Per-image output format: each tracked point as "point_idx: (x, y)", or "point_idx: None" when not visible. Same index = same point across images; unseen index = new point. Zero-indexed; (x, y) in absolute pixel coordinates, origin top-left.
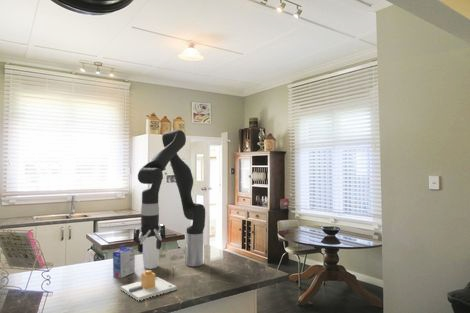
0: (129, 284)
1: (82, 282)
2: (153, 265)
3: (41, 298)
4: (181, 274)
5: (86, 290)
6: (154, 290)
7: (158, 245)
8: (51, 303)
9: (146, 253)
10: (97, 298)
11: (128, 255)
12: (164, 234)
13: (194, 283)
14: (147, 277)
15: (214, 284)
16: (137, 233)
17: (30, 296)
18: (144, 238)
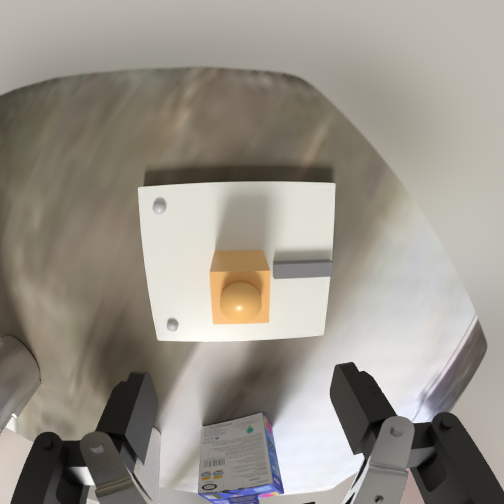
0: (288, 336)
1: None
2: None
3: (449, 367)
4: (66, 319)
5: (382, 373)
6: (242, 207)
7: (140, 401)
8: (459, 332)
9: (148, 467)
10: (400, 302)
11: (229, 475)
12: (33, 467)
13: (60, 203)
14: (260, 267)
15: (24, 150)
16: (492, 490)
17: (449, 384)
18: (391, 472)
